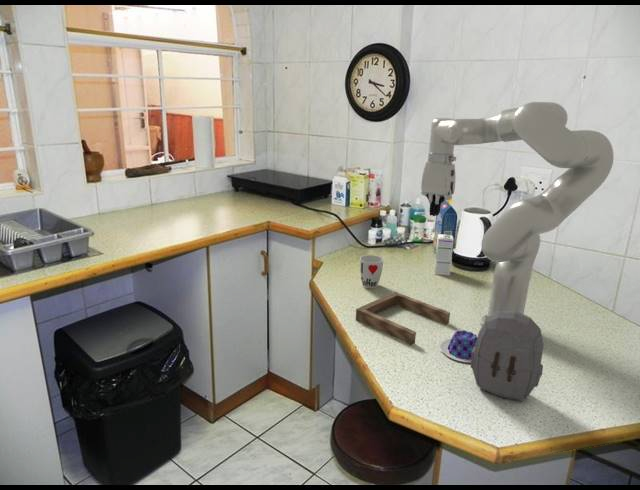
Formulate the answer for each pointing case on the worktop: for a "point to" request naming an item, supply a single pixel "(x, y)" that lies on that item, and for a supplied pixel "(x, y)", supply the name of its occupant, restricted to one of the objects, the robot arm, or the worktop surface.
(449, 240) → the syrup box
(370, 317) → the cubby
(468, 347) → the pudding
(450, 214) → the blue food package
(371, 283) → the cup
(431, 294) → the worktop surface
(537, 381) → the small grey backpack
